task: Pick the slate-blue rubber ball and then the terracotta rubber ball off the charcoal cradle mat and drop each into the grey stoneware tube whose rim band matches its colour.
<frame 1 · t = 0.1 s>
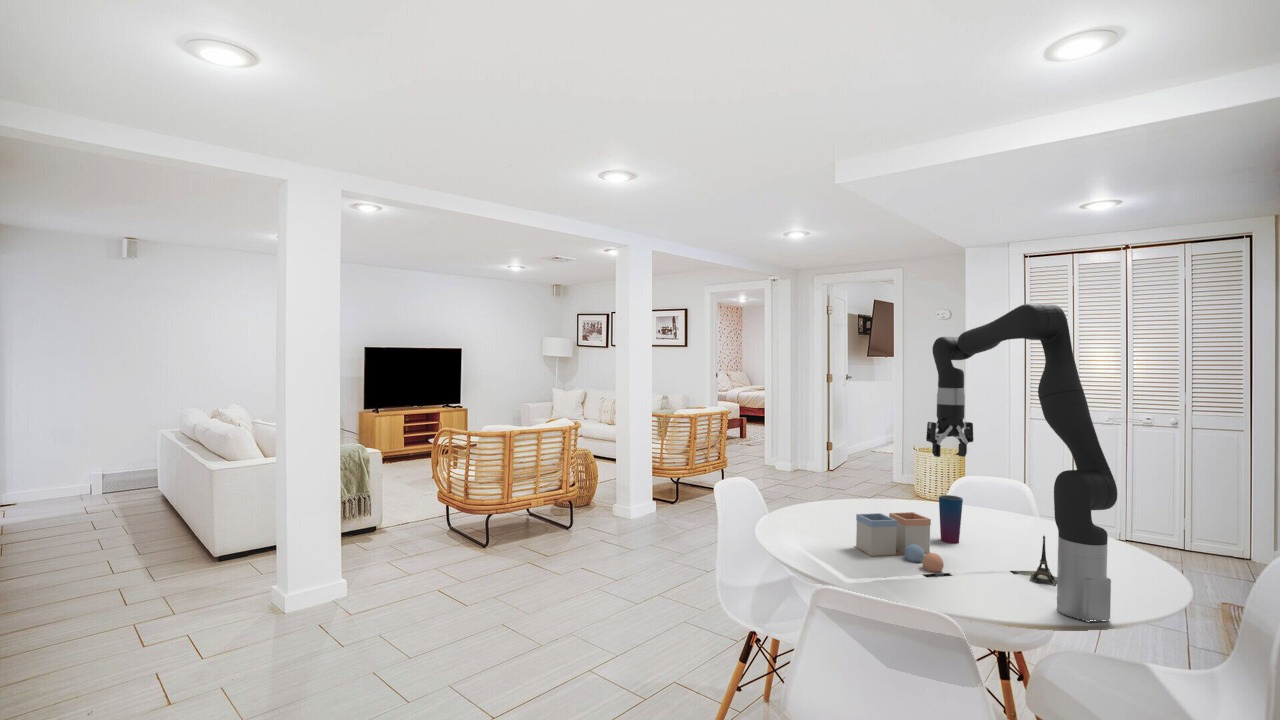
hand: (949, 456, 186), 29 cm above the table, fingers open, 8 cm apart
tube slate: (875, 550, 183), resting on tube board
ball terracotta: (932, 572, 167), resting on cradle mat
ball slate: (914, 562, 175), resting on cradle mat
tube terracotta: (909, 549, 185), resting on tube board
tube board: (892, 554, 184), on the table
eiffel tower figurine: (1045, 583, 163), on the table
cup: (949, 545, 194), on the table
cradle mat: (923, 568, 171), on the table
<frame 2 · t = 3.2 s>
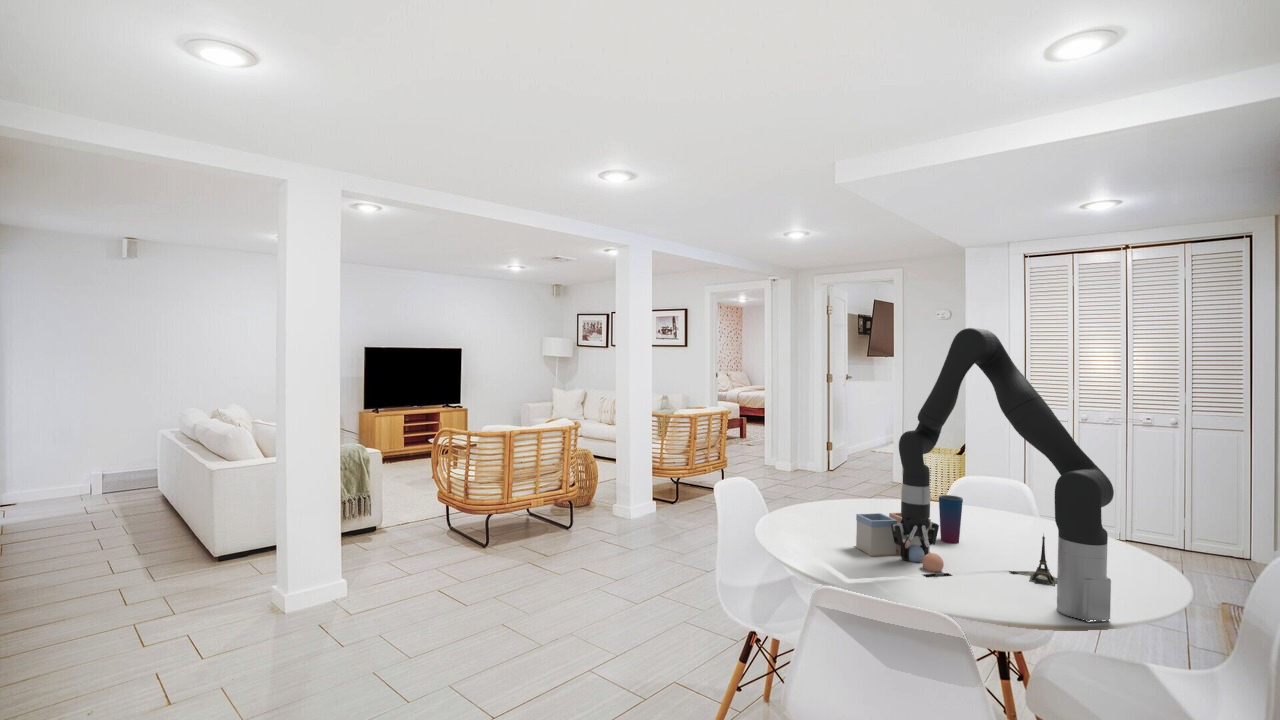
hand: (914, 559, 175), 1 cm above the table, fingers closed on ball slate, 5 cm apart
ball slate: (914, 562, 175), resting on cradle mat, touching gripper
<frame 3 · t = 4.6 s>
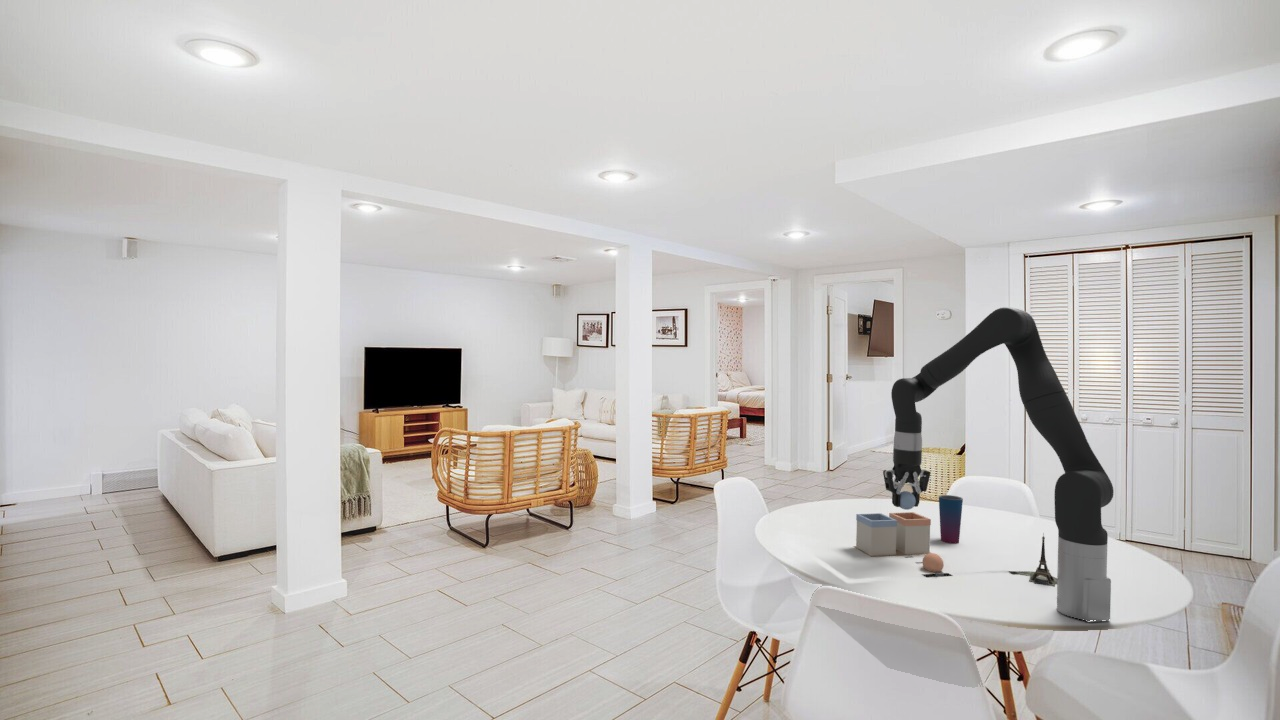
hand: (905, 505, 177), 16 cm above the table, fingers closed on ball slate, 5 cm apart
ball slate: (905, 509, 177), point 15 cm above the table, touching gripper
everything else where it was.
when the fingers open (11 cm above the table, at t = 6.1 s): ball slate drops 9 cm, resting on tube board.
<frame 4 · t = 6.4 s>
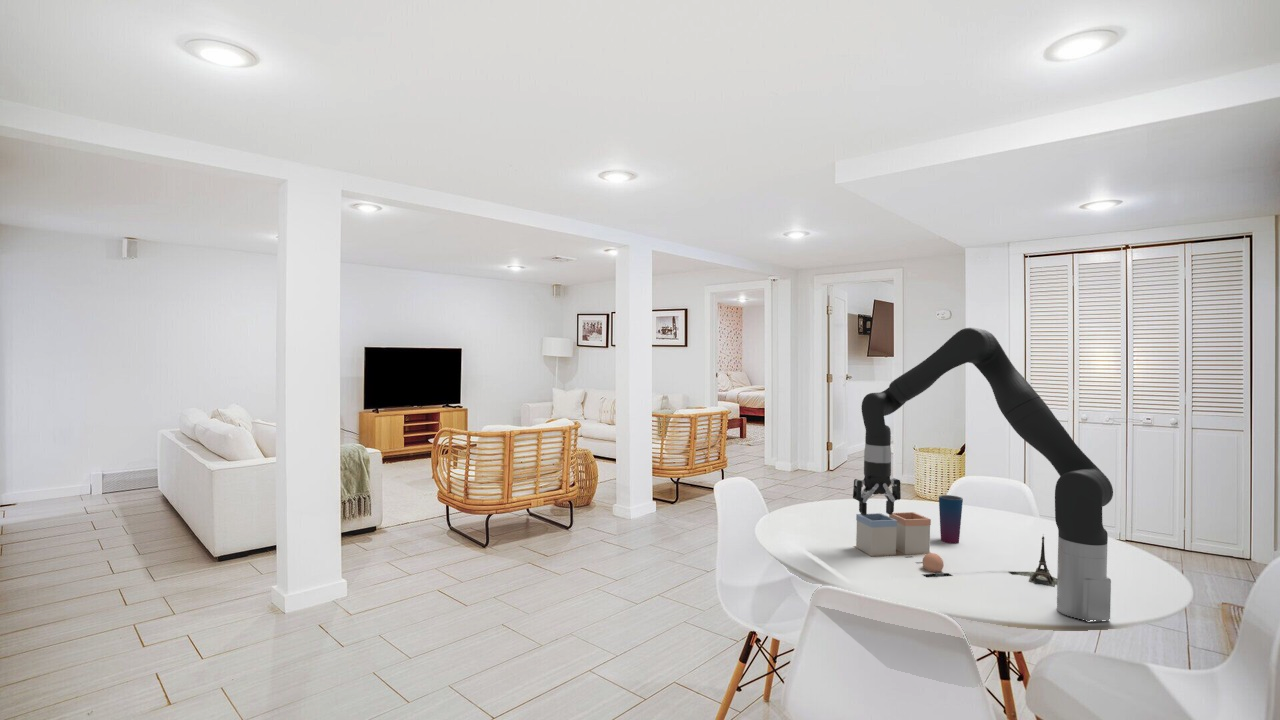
hand: (876, 514, 183), 12 cm above the table, fingers open, 8 cm apart
ball slate: (875, 550, 183), point 1 cm above the table, touching tube board
everything else where it was.
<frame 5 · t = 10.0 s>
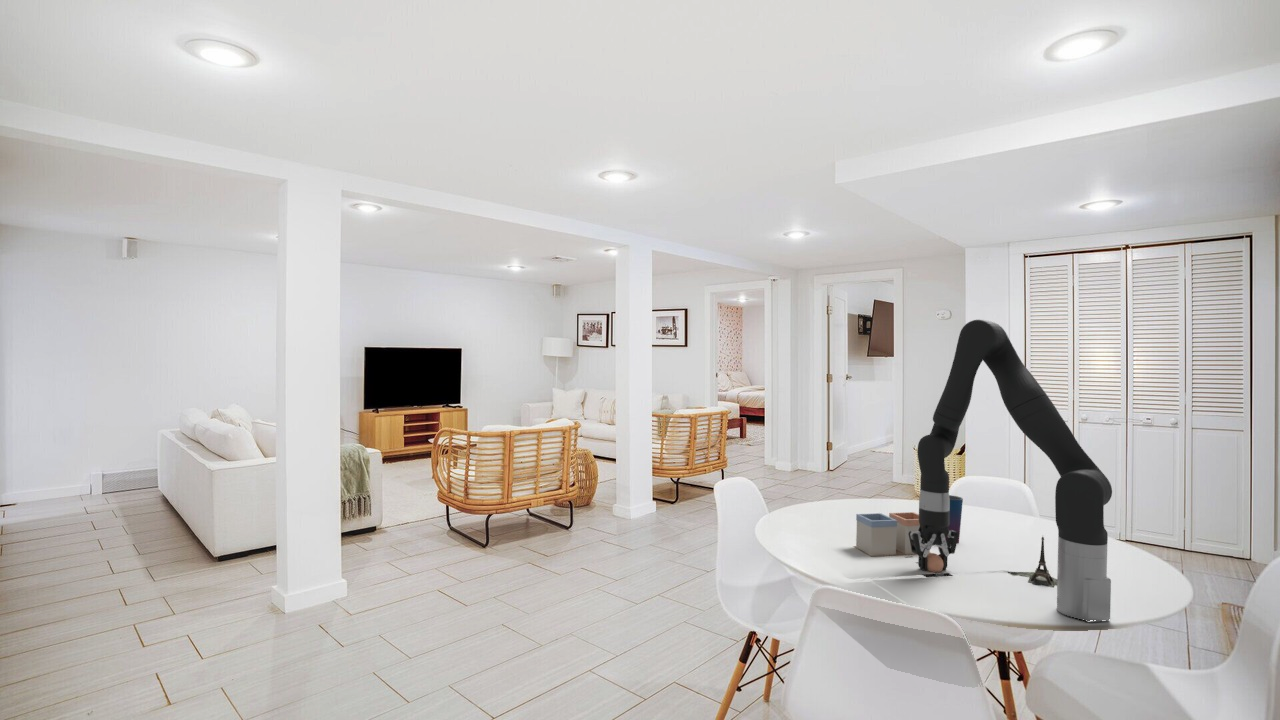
hand: (932, 569, 167), 1 cm above the table, fingers closed on ball terracotta, 5 cm apart
ball terracotta: (932, 572, 167), resting on cradle mat, touching gripper
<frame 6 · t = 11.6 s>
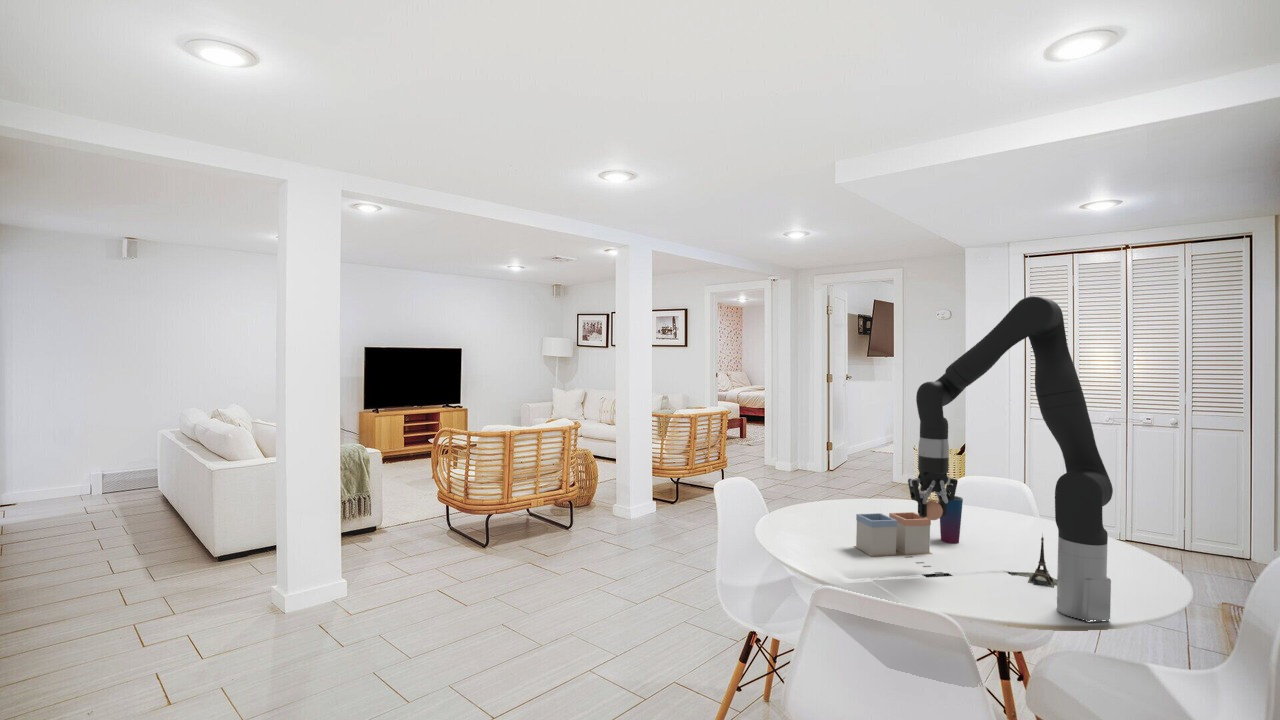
hand: (932, 516, 168), 15 cm above the table, fingers closed on ball terracotta, 5 cm apart
ball terracotta: (931, 519, 168), point 14 cm above the table, touching gripper
when the fingers open (11 cm above the table, at t = 13.5 s): ball terracotta drops 9 cm, resting on tube board.
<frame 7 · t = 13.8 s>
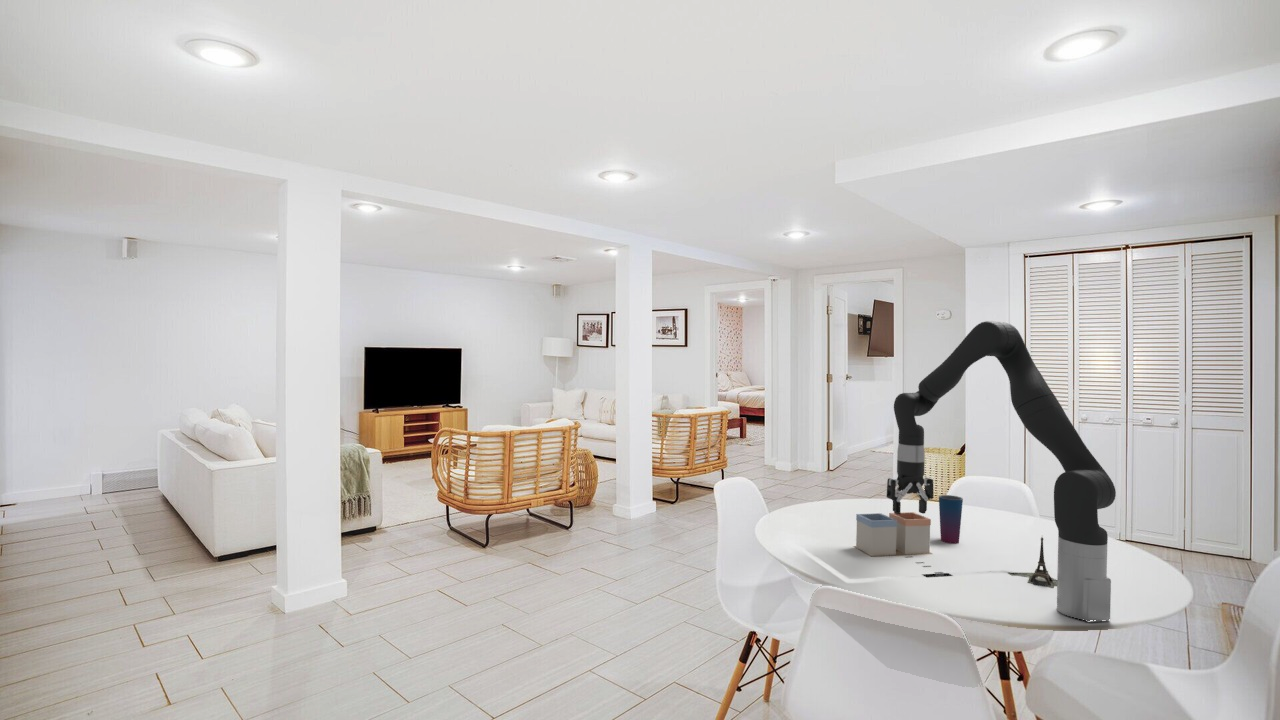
hand: (909, 513, 185), 12 cm above the table, fingers open, 8 cm apart
ball terracotta: (908, 549, 185), point 1 cm above the table, touching tube board
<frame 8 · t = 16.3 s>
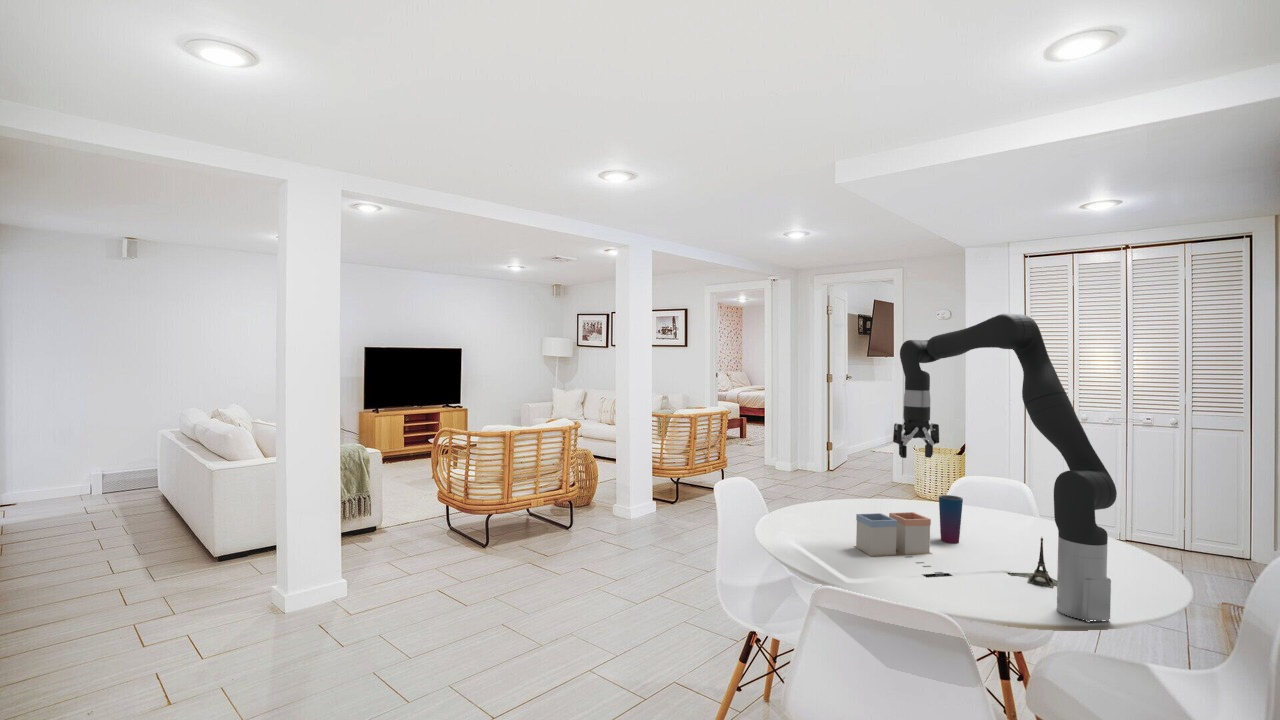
hand: (915, 457, 189), 28 cm above the table, fingers open, 8 cm apart
at the end: ball slate 0.0 cm off-centre on the tube slate, point 0.0 cm above the tube slate's base; ball terracotta 0.0 cm off-centre on the tube terracotta, point 0.0 cm above the tube terracotta's base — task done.
